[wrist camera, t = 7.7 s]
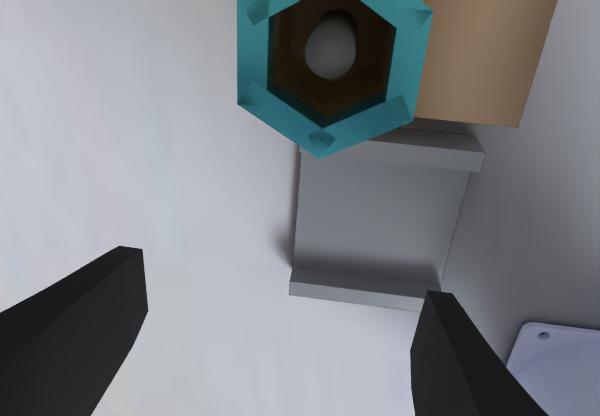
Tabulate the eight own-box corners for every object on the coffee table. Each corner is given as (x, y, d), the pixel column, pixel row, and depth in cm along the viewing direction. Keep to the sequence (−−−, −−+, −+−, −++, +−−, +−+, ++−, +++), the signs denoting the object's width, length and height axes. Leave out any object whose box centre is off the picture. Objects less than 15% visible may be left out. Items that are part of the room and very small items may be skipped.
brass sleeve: (422, -56, 15) (446, -56, 11) (394, 113, 18) (404, 168, 13) (272, -66, 15) (237, -71, 11) (267, 101, 18) (237, 150, 14)
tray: (475, 136, 19) (485, 153, 18) (434, 289, 23) (439, 314, 22) (305, 118, 20) (300, 133, 18) (293, 272, 24) (288, 294, 22)
